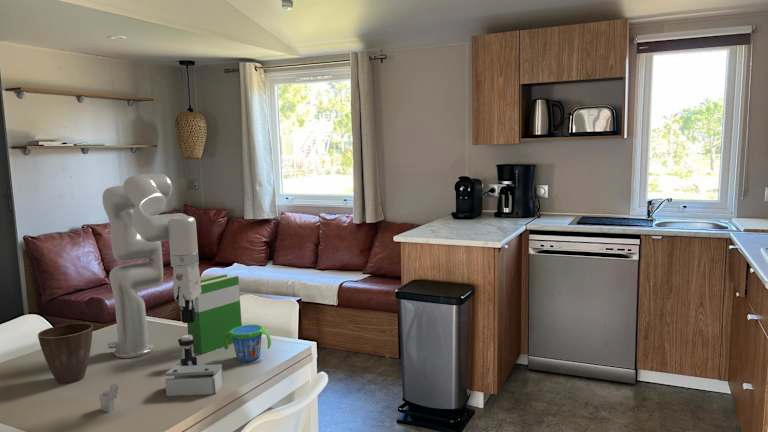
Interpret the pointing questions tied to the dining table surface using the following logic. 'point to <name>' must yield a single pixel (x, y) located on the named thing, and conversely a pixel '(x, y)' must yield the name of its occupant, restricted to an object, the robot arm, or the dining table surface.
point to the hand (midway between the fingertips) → (189, 321)
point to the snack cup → (247, 341)
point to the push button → (187, 351)
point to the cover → (193, 370)
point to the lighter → (109, 398)
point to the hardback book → (215, 313)
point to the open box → (194, 384)
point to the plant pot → (67, 350)
